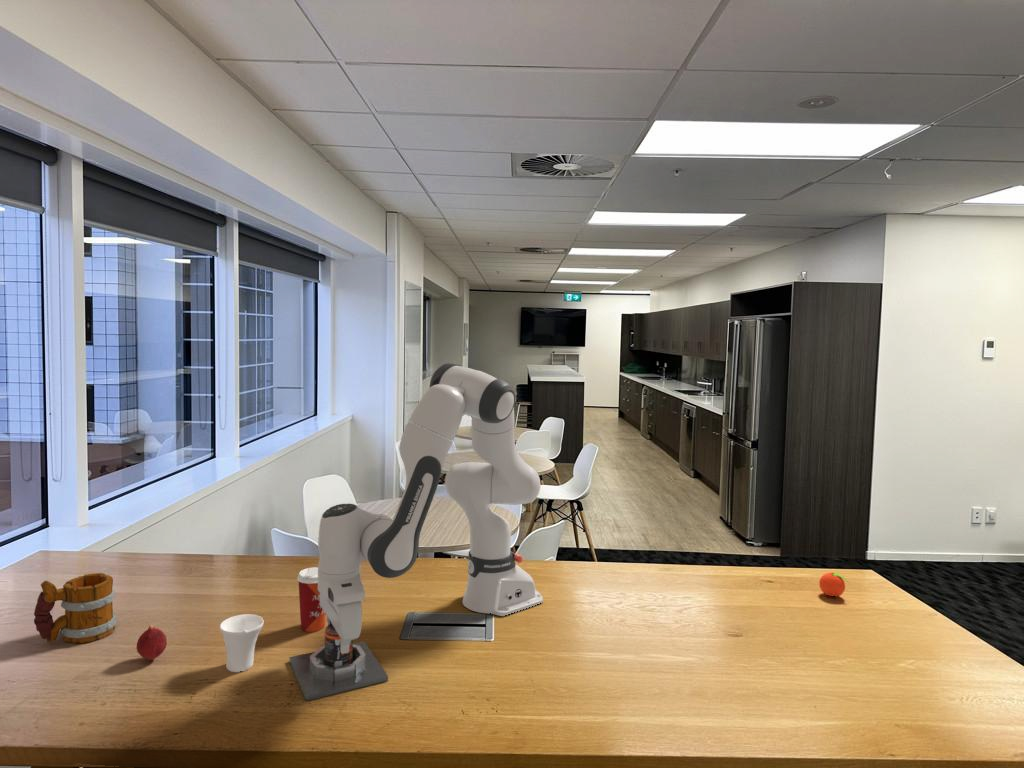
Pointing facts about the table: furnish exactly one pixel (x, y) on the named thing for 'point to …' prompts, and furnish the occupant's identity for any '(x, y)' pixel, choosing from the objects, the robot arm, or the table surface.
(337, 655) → the supplement bottle
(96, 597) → the mug
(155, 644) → the onion
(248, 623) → the cup
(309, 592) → the paper cup
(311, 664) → the ring collar
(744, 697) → the table surface
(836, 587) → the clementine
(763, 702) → the table surface
